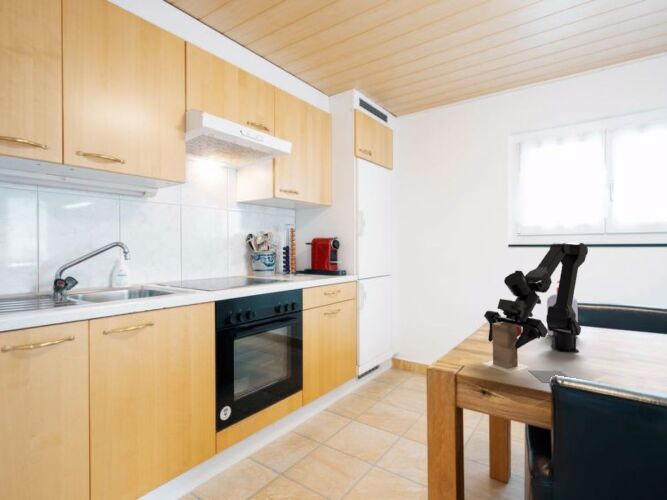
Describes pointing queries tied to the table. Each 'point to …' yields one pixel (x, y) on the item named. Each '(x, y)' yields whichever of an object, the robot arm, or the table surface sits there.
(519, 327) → the onion
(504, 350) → the walnut post
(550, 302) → the soap bottle
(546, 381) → the grey pad
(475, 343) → the table surface
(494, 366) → the tile
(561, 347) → the robot arm
